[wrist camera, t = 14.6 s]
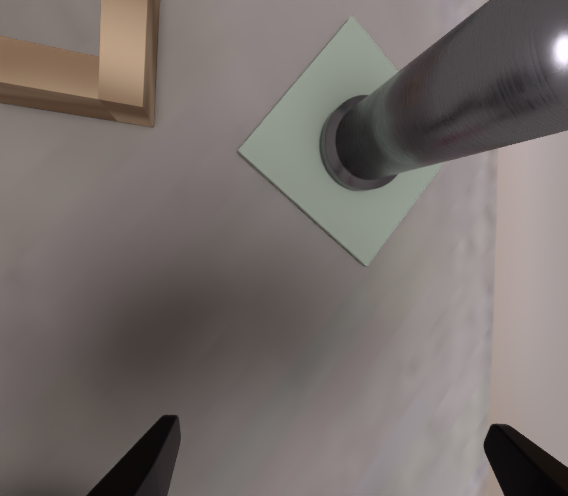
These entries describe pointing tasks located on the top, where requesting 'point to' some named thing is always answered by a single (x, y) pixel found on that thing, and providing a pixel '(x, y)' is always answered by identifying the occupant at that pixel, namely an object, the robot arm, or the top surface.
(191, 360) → the top surface
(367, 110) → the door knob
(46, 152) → the top surface
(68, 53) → the collar block
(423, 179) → the rubber mat
